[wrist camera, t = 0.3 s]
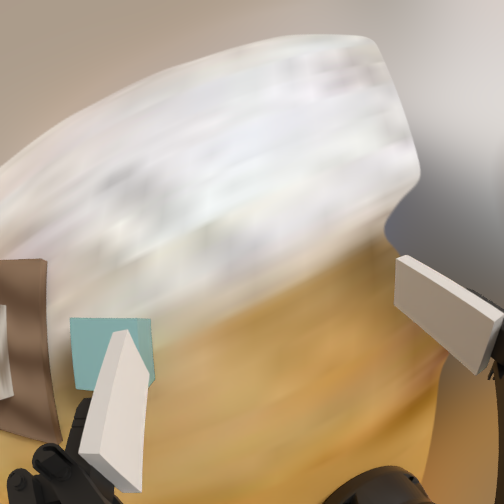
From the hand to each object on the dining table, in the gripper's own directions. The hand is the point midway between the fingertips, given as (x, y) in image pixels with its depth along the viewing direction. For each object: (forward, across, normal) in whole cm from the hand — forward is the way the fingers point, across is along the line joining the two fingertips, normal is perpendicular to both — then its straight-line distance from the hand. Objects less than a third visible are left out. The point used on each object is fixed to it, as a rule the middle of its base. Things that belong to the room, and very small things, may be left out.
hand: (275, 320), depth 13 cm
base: (+12, +32, +5) cm, 34 cm away
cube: (+12, +13, +8) cm, 20 cm away
